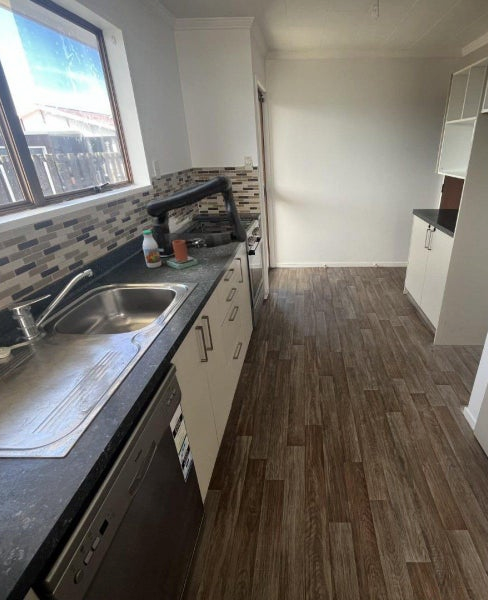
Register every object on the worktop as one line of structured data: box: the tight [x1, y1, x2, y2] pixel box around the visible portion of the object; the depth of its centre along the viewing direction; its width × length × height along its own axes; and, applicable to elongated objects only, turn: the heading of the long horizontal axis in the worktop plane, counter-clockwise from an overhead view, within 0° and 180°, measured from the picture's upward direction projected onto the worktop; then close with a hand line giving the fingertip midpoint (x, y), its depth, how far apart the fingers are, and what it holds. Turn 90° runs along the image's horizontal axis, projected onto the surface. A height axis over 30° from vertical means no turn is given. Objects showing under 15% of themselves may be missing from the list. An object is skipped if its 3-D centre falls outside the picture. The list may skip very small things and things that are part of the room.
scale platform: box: [168, 255, 195, 264], centre depth 186 cm, size 10×10×1 cm
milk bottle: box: [142, 229, 162, 269], centre depth 182 cm, size 8×8×20 cm
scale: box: [166, 258, 199, 270], centre depth 187 cm, size 12×12×3 cm
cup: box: [172, 239, 189, 261], centre depth 184 cm, size 7×7×10 cm
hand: (184, 245), depth 184 cm, fingers open, 8 cm apart
